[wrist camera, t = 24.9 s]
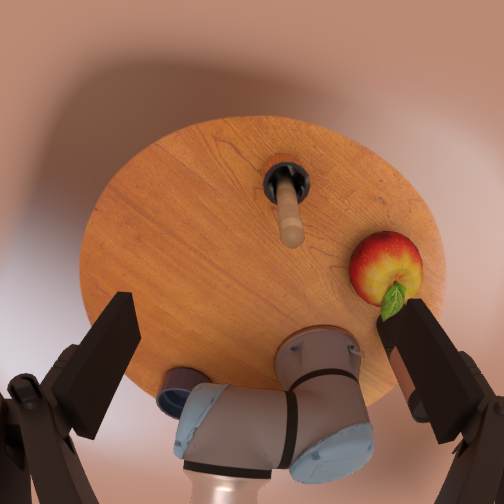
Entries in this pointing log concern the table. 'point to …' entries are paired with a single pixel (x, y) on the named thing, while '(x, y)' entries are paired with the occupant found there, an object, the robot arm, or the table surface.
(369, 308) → the table surface
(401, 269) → the fruit
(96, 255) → the table surface
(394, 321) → the travel mug
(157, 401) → the bowl
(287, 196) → the stick
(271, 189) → the holder
